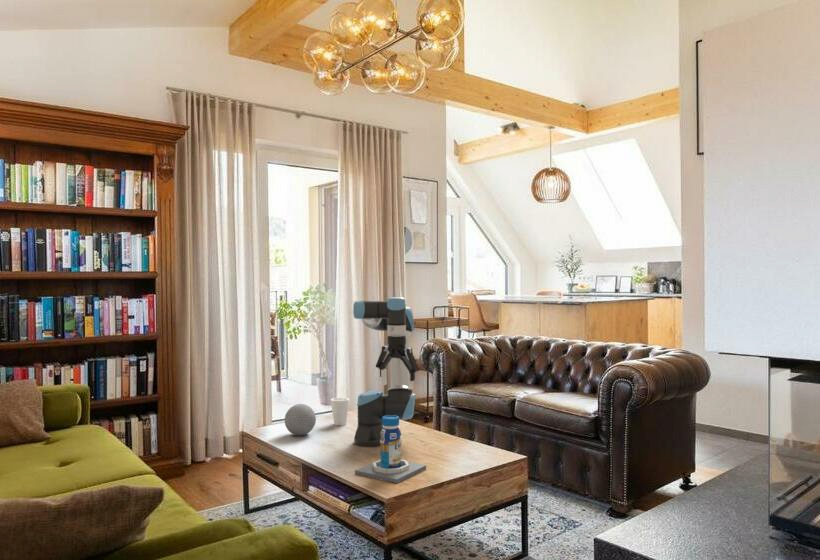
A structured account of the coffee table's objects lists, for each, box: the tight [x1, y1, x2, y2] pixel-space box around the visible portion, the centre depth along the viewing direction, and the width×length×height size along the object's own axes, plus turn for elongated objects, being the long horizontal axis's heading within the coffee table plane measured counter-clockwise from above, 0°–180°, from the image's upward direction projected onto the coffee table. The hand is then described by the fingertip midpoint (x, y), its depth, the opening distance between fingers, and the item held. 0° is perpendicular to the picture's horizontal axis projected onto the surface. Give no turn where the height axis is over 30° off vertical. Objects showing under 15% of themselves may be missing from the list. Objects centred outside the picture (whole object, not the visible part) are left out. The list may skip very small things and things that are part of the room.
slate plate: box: [354, 458, 427, 484], centre depth 238 cm, size 20×20×3 cm
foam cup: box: [330, 396, 350, 426], centre depth 316 cm, size 10×9×13 cm
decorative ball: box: [284, 403, 317, 436], centre depth 295 cm, size 15×15×15 cm
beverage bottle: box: [379, 415, 402, 469], centre depth 238 cm, size 8×8×20 cm
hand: (397, 387), depth 248 cm, fingers open, 13 cm apart
